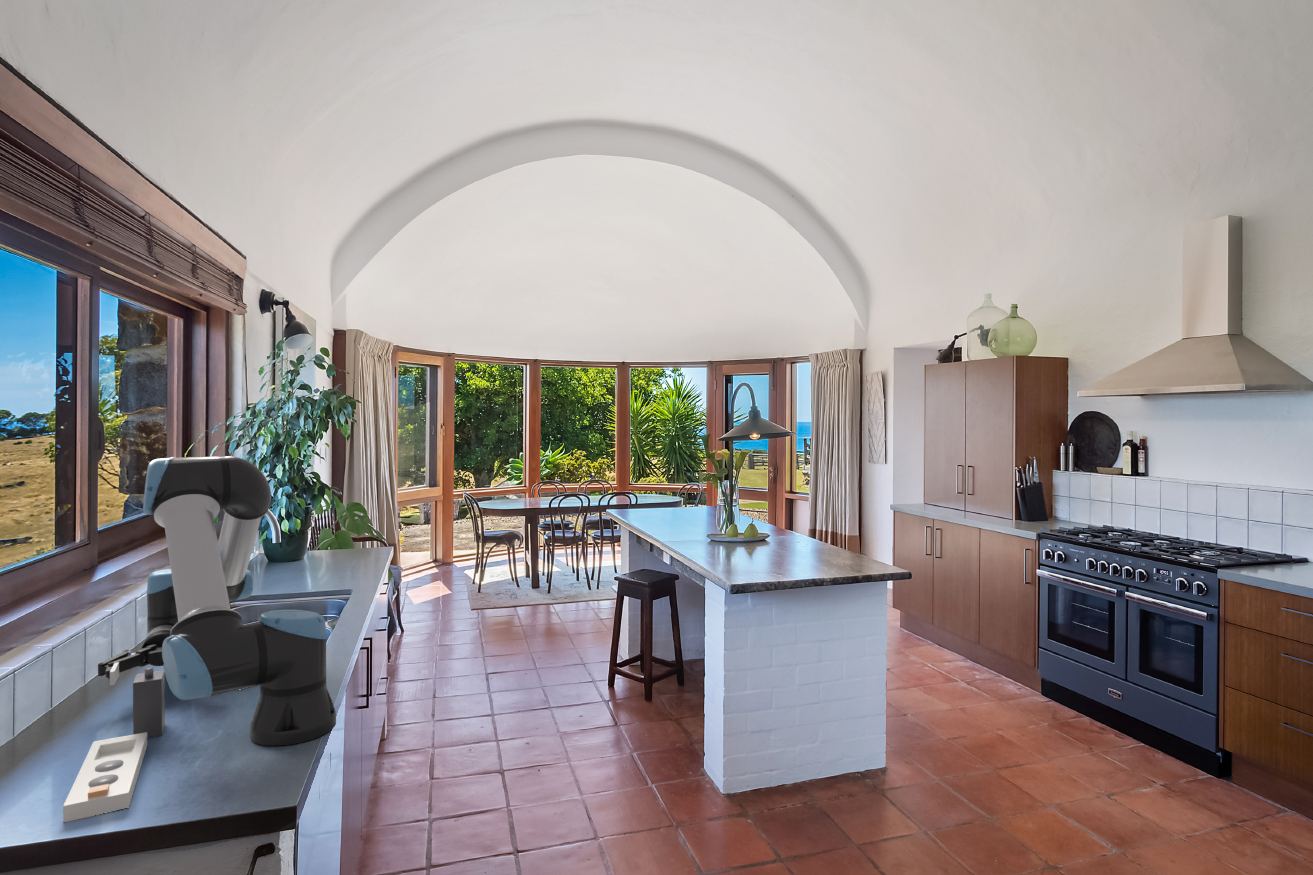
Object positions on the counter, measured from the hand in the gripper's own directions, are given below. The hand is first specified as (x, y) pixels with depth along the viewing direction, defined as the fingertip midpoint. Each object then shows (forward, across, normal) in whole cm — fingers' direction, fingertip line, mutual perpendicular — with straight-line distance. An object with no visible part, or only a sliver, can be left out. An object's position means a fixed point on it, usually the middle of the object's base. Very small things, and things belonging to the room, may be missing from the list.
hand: (153, 672), depth 148 cm
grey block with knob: (+8, 0, -9) cm, 13 cm away
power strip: (+28, +4, -9) cm, 30 cm away
